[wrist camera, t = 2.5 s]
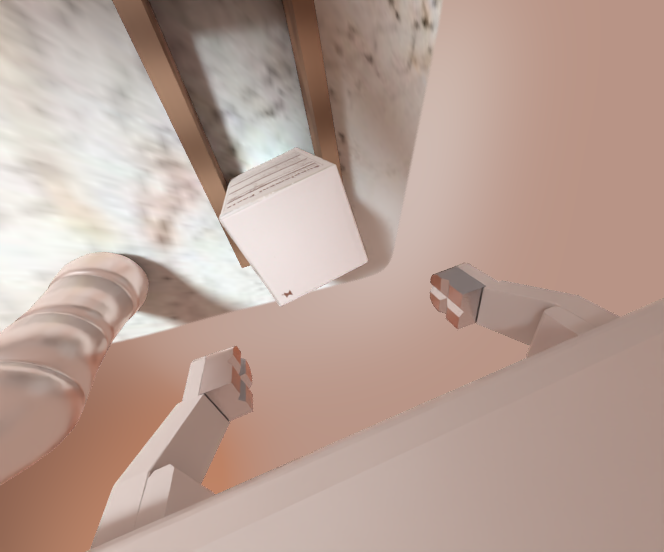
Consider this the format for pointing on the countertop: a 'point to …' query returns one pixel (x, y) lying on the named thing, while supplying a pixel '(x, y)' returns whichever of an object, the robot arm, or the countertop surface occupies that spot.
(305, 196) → the supplement box
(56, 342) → the plastic bottle
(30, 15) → the countertop surface
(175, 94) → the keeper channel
